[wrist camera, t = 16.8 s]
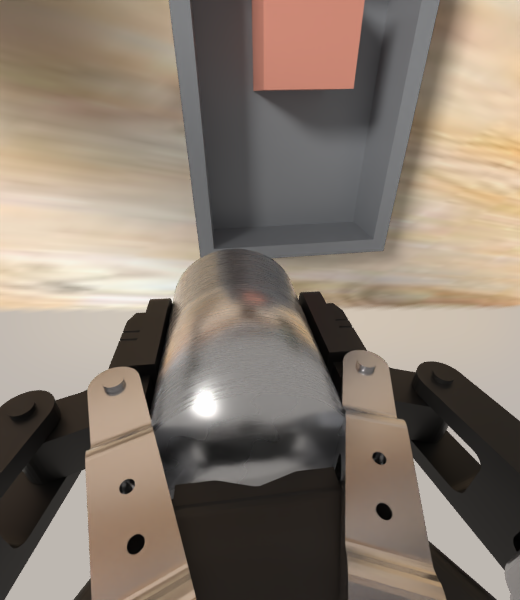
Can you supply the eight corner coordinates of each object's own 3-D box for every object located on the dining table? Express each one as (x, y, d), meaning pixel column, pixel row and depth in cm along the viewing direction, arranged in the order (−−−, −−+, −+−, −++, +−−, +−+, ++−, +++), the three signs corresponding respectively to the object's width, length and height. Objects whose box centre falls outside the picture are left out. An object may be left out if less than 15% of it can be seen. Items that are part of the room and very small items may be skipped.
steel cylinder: (165, 250, 12) (115, 405, 6) (298, 246, 12) (377, 384, 6) (181, 352, 14) (157, 529, 8) (289, 345, 15) (338, 506, 9)
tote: (166, -75, 17) (152, -129, 13) (407, -64, 19) (464, -109, 14) (202, 236, 27) (201, 262, 23) (358, 228, 28) (383, 250, 24)
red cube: (251, -13, 18) (263, -45, 14) (334, -11, 19) (369, -42, 15) (253, 90, 21) (263, 89, 17) (325, 89, 21) (353, 88, 17)
